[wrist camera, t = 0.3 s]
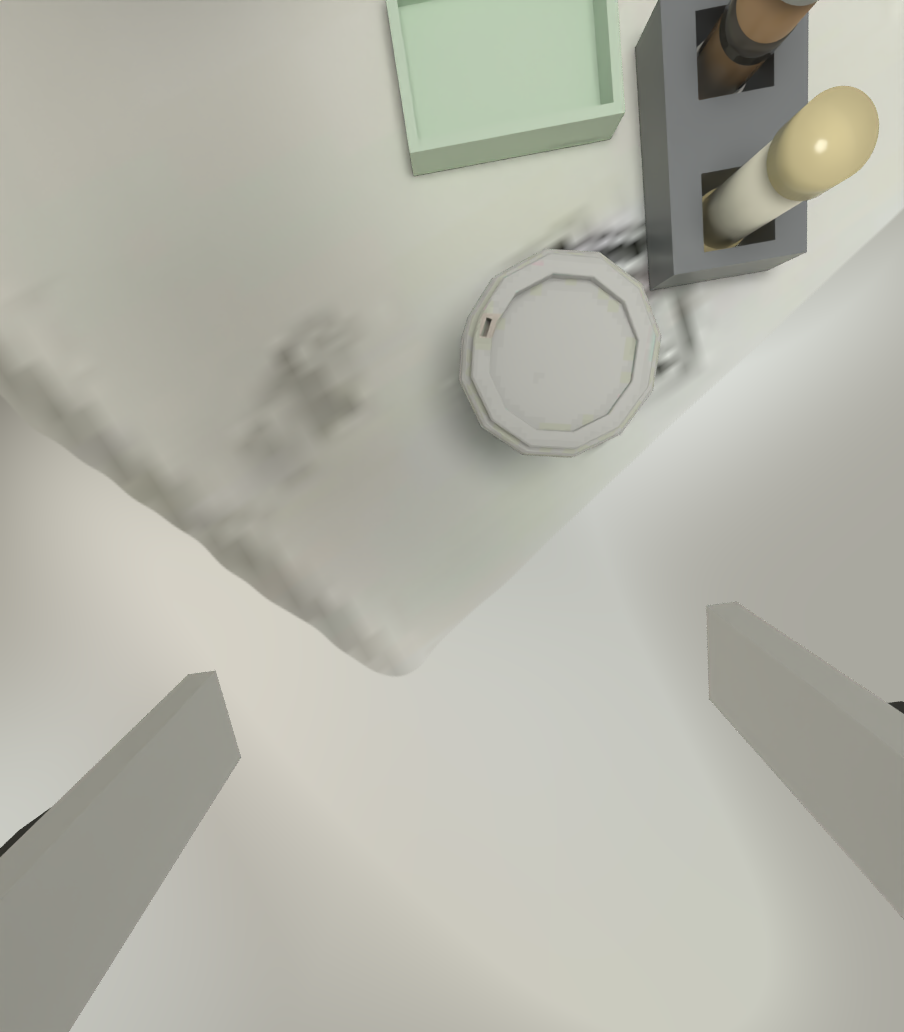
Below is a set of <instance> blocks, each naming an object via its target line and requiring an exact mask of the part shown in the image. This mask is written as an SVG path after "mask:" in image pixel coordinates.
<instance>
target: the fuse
mask: <svg viewBox="0 0 904 1032" xmlns="http://www.w3.org/2000/svg"><path fill="white" fill-rule="evenodd" d="M878 132H879V119H878V114H877V110H876V108H875V106H874V104H873V102H872V100H871V99H870V98H869V97H868V96H867V95H866V94H865V93H864V92H863V91H861V90H859V89H857V88H854V87H850V86H838V87H833V88H830V89H828V90H825V91H823V92H822V93H820V94H819V95H817V96H816V97H815V98H813V99H812V100H811V101H810V102H809V103H808V104H807V105H806V106H804V107H803V108H802V109H801V110H800V111H799V112H798V113H797V114H795V115H794V116H793V117H792V118H791V119H790V120H789V121H788V122H786V123H785V124H784V125H783V126H782V127H781V128H780V129H779V131H778V132H777V133H776V135H775V136H774V138H773V140H772V141H770V142H769V143H768V144H767V145H766V146H765V147H764V148H762V149H761V150H760V151H759V152H758V153H757V154H756V155H754V156H753V157H752V158H751V159H750V160H749V161H748V162H746V163H745V164H744V165H743V166H742V167H741V168H740V169H738V170H737V171H736V172H735V173H734V174H733V175H732V176H730V177H729V178H728V179H727V180H726V181H725V182H724V183H722V184H721V185H720V186H719V187H718V188H716V189H713V190H711V191H709V192H708V193H707V194H705V195H704V196H703V197H702V211H703V238H704V252H709V251H715V250H720V249H726V248H732V247H735V246H736V245H738V244H739V243H740V242H741V241H742V240H743V238H744V237H746V236H748V235H749V234H751V233H752V232H754V231H756V230H757V229H759V228H761V227H762V226H764V225H765V224H767V223H769V222H770V221H772V220H773V219H775V218H777V217H778V216H780V215H782V214H783V213H785V212H786V211H788V210H790V209H791V208H793V207H794V206H796V205H798V204H799V203H801V202H803V201H806V200H810V199H813V198H815V197H817V196H819V195H821V194H822V193H824V192H826V191H827V190H829V189H831V188H832V187H834V186H836V185H837V184H839V183H841V182H842V181H844V180H845V179H847V178H849V177H850V176H852V175H853V174H855V173H856V172H857V171H858V170H860V169H861V168H862V166H863V165H864V164H865V163H866V162H867V160H868V159H869V157H870V156H871V154H872V152H873V150H874V148H875V145H876V142H877V138H878Z"/></svg>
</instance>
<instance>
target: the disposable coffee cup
mask: <svg viewBox="0 0 904 1032" xmlns="http://www.w3.org/2000/svg"><path fill="white" fill-rule="evenodd" d="M660 342H661V333H660V331H659V328H658V325H657V323H656V320H655V317H654V315H653V312H652V309H651V306H650V304H649V301H648V298H647V296H646V293H645V290H644V288H643V285H642V284H641V283H640V282H638V281H637V280H636V279H634V278H633V277H632V276H630V275H629V274H628V273H626V272H625V271H624V270H622V269H621V268H620V267H618V266H617V265H616V264H614V263H613V262H612V261H610V260H609V259H608V258H607V257H605V256H604V255H603V254H601V253H600V252H591V251H574V250H556V249H543V250H541V251H540V252H538V253H536V254H534V255H532V256H531V257H529V258H527V259H525V260H523V261H521V262H520V263H518V264H516V265H514V266H512V267H511V268H509V269H507V270H505V271H503V272H502V273H500V274H498V275H496V276H495V277H493V278H492V279H491V280H490V282H489V284H488V285H487V287H486V289H485V290H484V292H483V293H482V295H481V297H480V298H479V300H478V302H477V303H476V305H475V306H474V308H473V310H472V311H471V313H470V314H469V316H468V318H467V322H466V325H465V328H464V331H463V334H462V338H461V355H460V372H459V382H460V384H461V386H462V388H463V390H464V392H465V394H466V396H467V399H468V401H469V403H470V405H471V407H472V409H473V411H474V413H475V415H476V417H477V419H478V421H479V424H480V426H481V427H482V428H483V429H485V430H486V431H488V432H489V433H491V434H492V435H494V436H495V437H497V438H498V439H500V440H501V441H503V442H504V443H506V444H507V445H508V446H510V447H511V448H513V449H514V450H516V451H517V452H519V453H520V454H522V455H538V456H555V457H573V456H577V455H579V454H581V453H583V452H585V451H587V450H589V449H591V448H593V447H595V446H597V445H599V444H601V443H603V442H605V441H607V440H609V439H612V438H614V437H616V436H618V435H620V434H621V433H622V432H623V430H624V429H625V428H626V426H627V425H628V424H629V422H630V421H631V420H632V418H633V417H634V415H635V414H636V413H637V411H638V410H639V409H640V407H641V406H642V405H643V403H644V402H645V401H646V399H647V398H648V397H649V395H650V394H651V392H652V391H653V387H654V380H655V374H656V368H657V361H658V355H659V349H660Z"/></svg>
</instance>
